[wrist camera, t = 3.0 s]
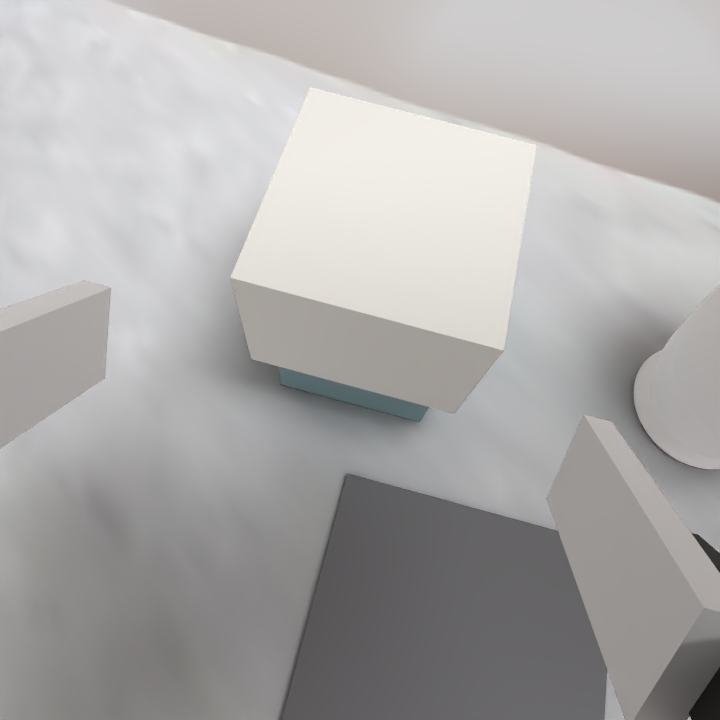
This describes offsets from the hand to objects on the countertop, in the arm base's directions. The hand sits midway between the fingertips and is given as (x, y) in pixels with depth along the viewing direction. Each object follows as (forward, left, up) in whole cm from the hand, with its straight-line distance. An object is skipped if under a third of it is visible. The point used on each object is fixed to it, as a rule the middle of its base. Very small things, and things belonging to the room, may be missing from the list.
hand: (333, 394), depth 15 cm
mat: (-4, +10, -18) cm, 21 cm away
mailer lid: (-6, -9, -13) cm, 16 cm away
